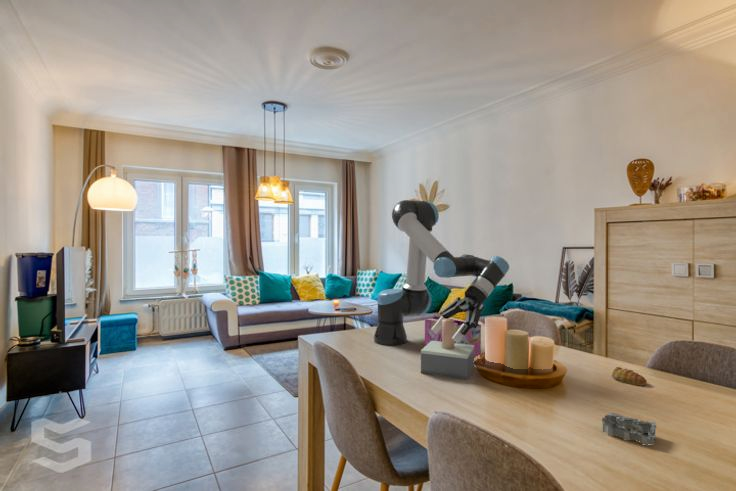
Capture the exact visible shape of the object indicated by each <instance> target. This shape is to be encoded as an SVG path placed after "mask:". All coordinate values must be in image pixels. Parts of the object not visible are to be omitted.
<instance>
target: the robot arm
mask: <svg viewBox="0 0 736 491" xmlns="http://www.w3.org/2000/svg"><path fill="white" fill-rule="evenodd" d="M391 218H392V222H393V224H394V225H395V226H396V227H397V229H398V230H399V231H401V232H404V233H405V234H406V235H407V237H409V244H408V254H407V256H408V257H407V269H406V278H405V279H406V281H405V283H404V284H403V285H402V289H401V288H388V289H384V290H382V291H380V292H378V294H377V301H376V302H377V326H376V329H375V332H374V336H373V340H374V343H375V344H378V345H382V346H383V345H385V346H386V345H387V346H398V345H399V346H400V345H403V344H406V343H407V342H408V335H407V333H406V329H405V325H404V317H410V316H419V315H421V314H425V313H427V312H428V311H429V310H430V308H431V305H432V295H431V294H430V292H429V291H428V287H427V286H426V285H425V280H426V279H425V278H426V267H427V259H429V260H430V261H431V263H433V271H434V274H435V275H436V276H437V277H439V278H446V279H449V278H457V277H470V276H472V277H475V279H473V281H472V282H471V284H470V285H469V287H468V288H467V289H466V290H465V291H464V297H463V298H461V297H460V296H457V297H456V298H455V299H454V300H453V301H452V302H451V303H449V305H447V306H446V307H444V308H442V310H440V311H439V312H438V314H439V315H440V316H439V317H440V318H439V320H438V321H437V322H436V324H435V325H434V326H433V327H432V329H431V330H432V331H433V332H434V333H435V334H437V333H438V332H439V331H440V329H441V328H442V319H451V318H452V317H453V316H455V315H457V314H459V313H460V314H461V313H466V314H465V321H463V322H464V323H465V324H466V325H465V324H464V323H463V324H462V326H461V327H460V328H459V329H458V331H457V332H456V333H455V335H454V336H453V337H452V339H453V340H454V341H455V342H456V343H459V341H460V340H461V339H462V338H463V336H464V335H465V334H466V333H467V332H468V331H469V329H471V328H477V325H478V324H479V322H480V319H481V314H482V312H483V310H484V309H485V306H484V303H485V301H486V300H487V298H488V297H489V296H490V295H491V293H492V292H493V291H494V290H495V288H496V287H497V286H498V285H499V283H500V282H501V281H502V279H503V278H504V277H505V276H506V274H507V273H508V272H509V270H510V264H509V263H508V261H507V260H506V259H504V258H503V257H501V256H498V255H494V256H492V257H491V258H490V259H484V258H481V257H478V256H475V255H473V254H467V253H465V254H462V255H461V256H454V255H453V254H452V253H450V251H449V250H448V249H447V248H446V247H445V246H444V245H443V244H442V243H441V242H440V241H439V240H438V239H437V238H436V237H435V236H434V235H433V234H432V233H431V232H433V227H434V226H436V225H437V223H438V221H439V210H438V208H437V207H436V205H435V204H434V203H433V202H431V201H426V200H411V199H405V200H400V201H398V203H395V205H394V206H393V209H392V211H391Z"/></svg>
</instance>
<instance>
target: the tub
mask: <svg viewBox="0 0 736 491" xmlns="http://www.w3.org/2000/svg"><path fill="white" fill-rule="evenodd" d="M473 361H474V349H473V351H472V352H471V354H470V355H469V357H468V359H465V358H456V357H448V356H440V355H432V354H424V353H421V352H420V374H426V375H432V376H439V377H447V378H452V379H460V380H468V379H469V377H470V375H471V373H472V372H473V370H474V368H475V361H474V362H473Z"/></svg>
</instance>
